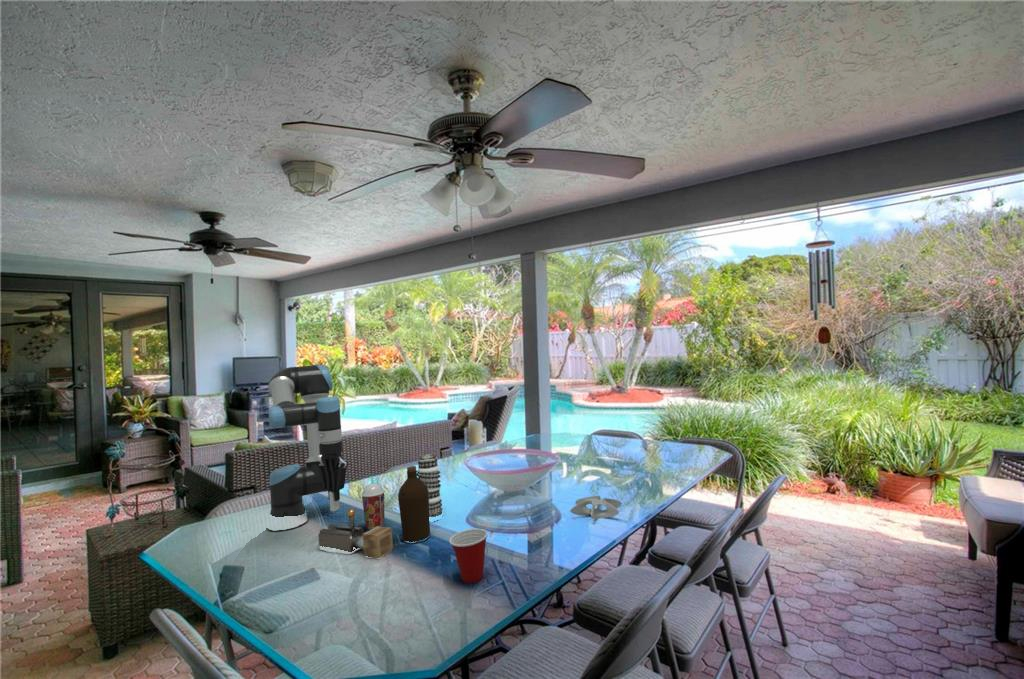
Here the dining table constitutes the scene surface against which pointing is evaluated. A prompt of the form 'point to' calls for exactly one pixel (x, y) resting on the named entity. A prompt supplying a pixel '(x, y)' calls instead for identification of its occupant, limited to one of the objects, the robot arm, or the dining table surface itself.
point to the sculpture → (596, 513)
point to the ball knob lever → (356, 539)
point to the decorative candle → (431, 482)
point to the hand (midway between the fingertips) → (334, 509)
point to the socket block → (377, 541)
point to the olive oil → (414, 507)
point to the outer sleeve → (338, 537)
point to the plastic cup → (470, 553)
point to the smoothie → (373, 504)
